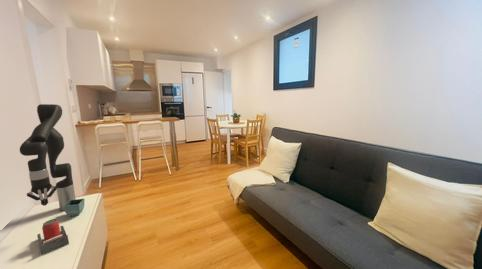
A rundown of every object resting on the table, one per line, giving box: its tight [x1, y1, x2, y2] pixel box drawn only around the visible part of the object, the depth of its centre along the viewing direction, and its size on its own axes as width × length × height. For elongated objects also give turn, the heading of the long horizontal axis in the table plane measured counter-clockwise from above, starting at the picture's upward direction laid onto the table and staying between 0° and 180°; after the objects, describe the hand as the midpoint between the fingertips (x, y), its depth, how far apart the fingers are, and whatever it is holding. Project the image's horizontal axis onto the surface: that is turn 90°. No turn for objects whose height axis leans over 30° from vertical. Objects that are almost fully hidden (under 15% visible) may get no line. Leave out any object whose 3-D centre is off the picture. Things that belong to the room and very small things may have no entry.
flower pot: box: [63, 198, 86, 217], centre depth 135 cm, size 9×9×9 cm
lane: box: [37, 225, 70, 256], centre depth 109 cm, size 18×11×5 cm, turn 49°
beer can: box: [41, 218, 62, 241], centre depth 108 cm, size 7×7×12 cm
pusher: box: [42, 233, 63, 245], centre depth 106 cm, size 1×8×4 cm, turn 139°
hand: (45, 204), depth 115 cm, fingers closed
